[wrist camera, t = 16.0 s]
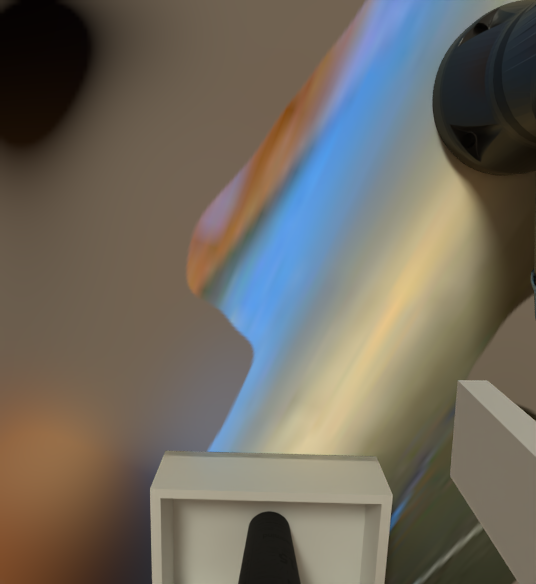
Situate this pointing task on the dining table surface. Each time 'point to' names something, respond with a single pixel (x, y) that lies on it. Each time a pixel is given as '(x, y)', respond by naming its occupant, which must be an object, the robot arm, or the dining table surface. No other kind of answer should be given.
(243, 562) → the drinking cup
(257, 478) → the box
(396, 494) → the dining table surface
